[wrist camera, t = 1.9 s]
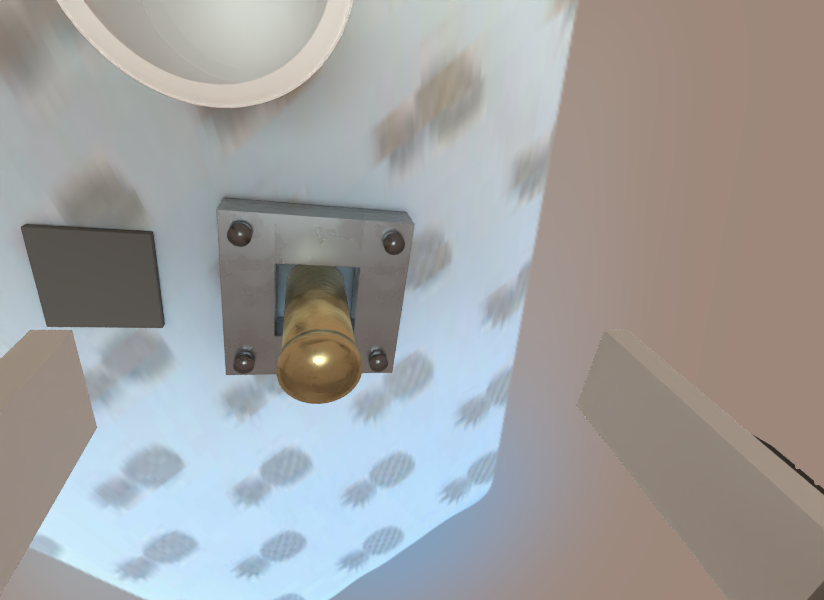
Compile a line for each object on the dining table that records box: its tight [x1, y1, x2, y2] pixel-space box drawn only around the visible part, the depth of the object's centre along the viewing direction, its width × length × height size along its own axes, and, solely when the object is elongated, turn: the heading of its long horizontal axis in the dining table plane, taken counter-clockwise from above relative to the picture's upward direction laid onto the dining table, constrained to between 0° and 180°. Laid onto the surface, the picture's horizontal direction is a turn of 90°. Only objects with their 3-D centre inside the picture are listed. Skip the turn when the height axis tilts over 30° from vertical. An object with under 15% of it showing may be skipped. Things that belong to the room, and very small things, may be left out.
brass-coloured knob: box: [277, 265, 362, 404], centre depth 33 cm, size 5×5×12 cm
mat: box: [21, 224, 165, 328], centre depth 34 cm, size 8×8×1 cm
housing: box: [217, 198, 414, 375], centre depth 36 cm, size 14×14×4 cm
